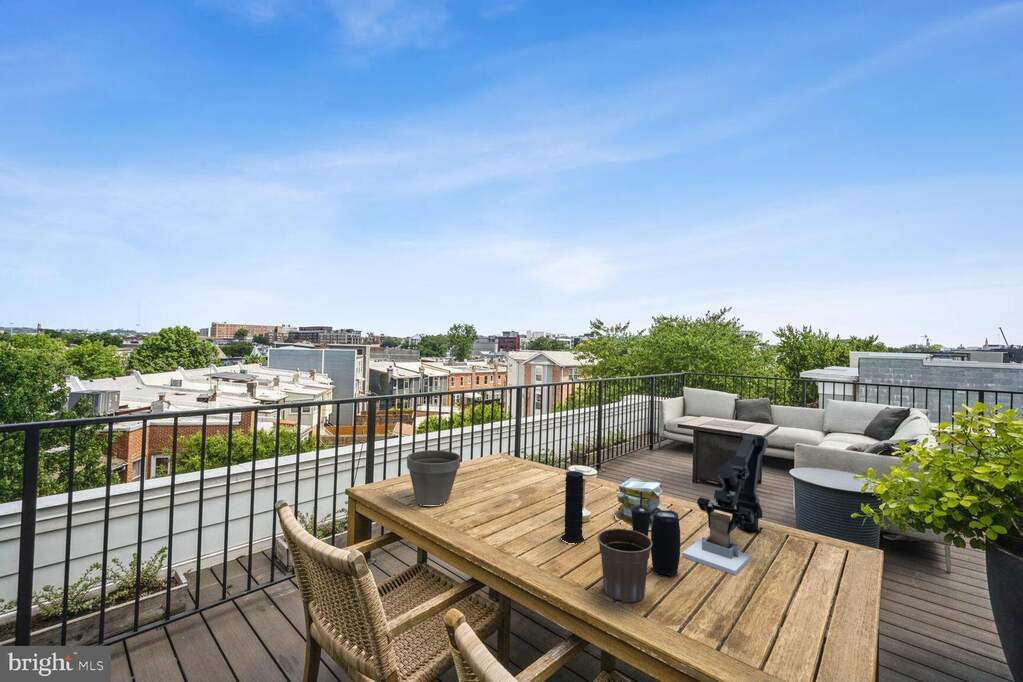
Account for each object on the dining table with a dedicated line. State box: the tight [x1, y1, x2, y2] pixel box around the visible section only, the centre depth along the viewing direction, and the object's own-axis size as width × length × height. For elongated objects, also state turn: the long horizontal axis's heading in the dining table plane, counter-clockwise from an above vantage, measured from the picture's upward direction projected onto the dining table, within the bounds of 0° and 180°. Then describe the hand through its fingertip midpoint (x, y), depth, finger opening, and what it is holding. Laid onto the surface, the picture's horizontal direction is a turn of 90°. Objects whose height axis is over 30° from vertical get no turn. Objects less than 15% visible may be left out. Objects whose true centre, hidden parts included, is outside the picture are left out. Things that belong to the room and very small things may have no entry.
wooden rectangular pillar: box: [709, 511, 731, 549], centre depth 164 cm, size 4×6×12 cm, turn 46°
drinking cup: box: [630, 492, 651, 537], centre depth 172 cm, size 8×8×20 cm
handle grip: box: [560, 470, 585, 544], centre depth 175 cm, size 10×26×10 cm
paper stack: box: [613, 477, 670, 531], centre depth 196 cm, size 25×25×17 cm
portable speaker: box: [650, 509, 681, 578], centre depth 152 cm, size 9×9×20 cm
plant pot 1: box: [406, 449, 462, 505], centre depth 213 cm, size 25×25×22 cm
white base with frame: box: [681, 535, 752, 576], centre depth 162 cm, size 16×18×4 cm
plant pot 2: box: [596, 528, 652, 603], centre depth 138 cm, size 16×16×16 cm
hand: (718, 530), depth 163 cm, fingers closed on wooden rectangular pillar, 6 cm apart
